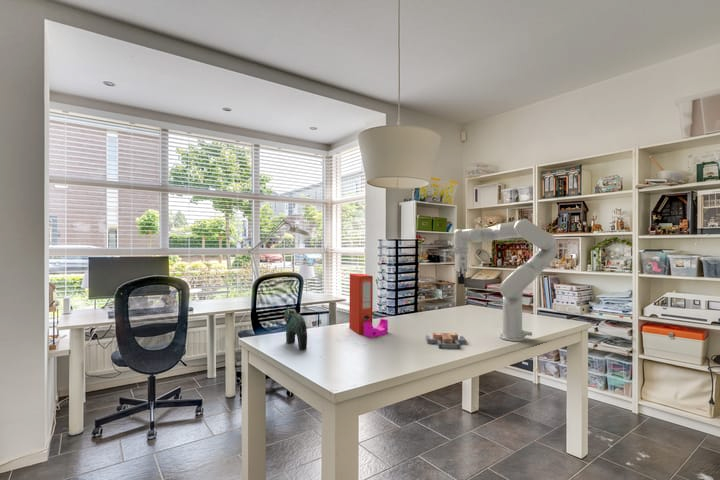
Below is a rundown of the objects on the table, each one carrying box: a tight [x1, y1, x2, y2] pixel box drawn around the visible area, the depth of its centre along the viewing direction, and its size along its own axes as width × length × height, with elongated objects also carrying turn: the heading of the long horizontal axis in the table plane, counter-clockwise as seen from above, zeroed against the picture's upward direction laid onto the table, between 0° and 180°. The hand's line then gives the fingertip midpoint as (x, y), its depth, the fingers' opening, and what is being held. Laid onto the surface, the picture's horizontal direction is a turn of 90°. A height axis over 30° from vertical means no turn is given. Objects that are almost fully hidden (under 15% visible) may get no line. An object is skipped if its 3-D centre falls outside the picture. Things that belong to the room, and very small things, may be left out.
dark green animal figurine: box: [283, 304, 308, 351], centre depth 182 cm, size 20×6×20 cm, turn 33°
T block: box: [432, 332, 459, 344], centre depth 184 cm, size 12×12×4 cm
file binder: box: [348, 273, 374, 335], centre depth 213 cm, size 8×17×32 cm, turn 20°
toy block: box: [363, 318, 389, 338], centre depth 204 cm, size 15×6×8 cm, turn 132°
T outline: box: [425, 334, 467, 350], centre depth 184 cm, size 19×16×2 cm
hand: (461, 283), depth 208 cm, fingers closed
